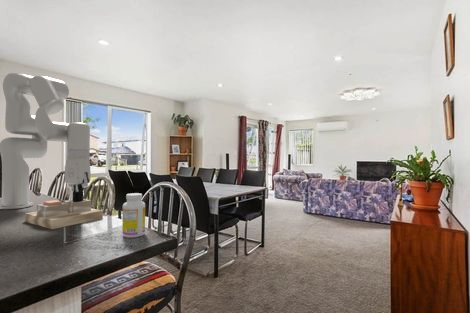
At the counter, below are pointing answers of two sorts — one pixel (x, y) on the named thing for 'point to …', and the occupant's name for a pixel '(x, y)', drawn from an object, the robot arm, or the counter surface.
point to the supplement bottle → (133, 216)
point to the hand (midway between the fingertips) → (77, 201)
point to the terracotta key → (52, 203)
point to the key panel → (63, 214)
